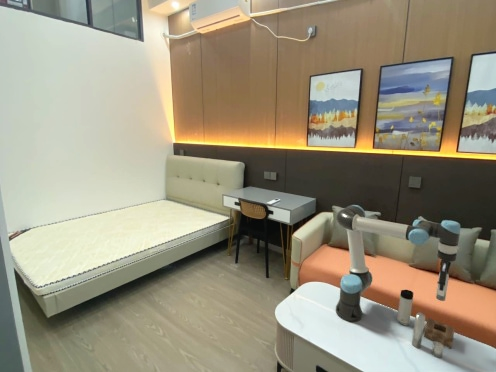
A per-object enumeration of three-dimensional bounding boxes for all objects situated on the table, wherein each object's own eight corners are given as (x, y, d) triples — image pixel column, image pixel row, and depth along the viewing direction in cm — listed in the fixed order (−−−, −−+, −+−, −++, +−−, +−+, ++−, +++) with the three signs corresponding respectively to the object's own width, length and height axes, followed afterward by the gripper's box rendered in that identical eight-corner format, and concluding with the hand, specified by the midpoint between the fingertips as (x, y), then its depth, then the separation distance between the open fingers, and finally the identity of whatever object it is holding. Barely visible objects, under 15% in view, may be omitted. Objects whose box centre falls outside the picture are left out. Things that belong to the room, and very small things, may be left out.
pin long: (411, 345, 138) (415, 315, 134) (412, 340, 141) (417, 311, 137) (419, 349, 135) (424, 319, 132) (421, 344, 138) (426, 314, 134)
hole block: (423, 337, 143) (425, 327, 142) (426, 326, 151) (428, 317, 149) (451, 348, 136) (453, 339, 134) (452, 337, 143) (454, 328, 142)
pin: (435, 298, 137) (438, 274, 135) (436, 295, 140) (440, 271, 138) (444, 301, 135) (448, 277, 132) (445, 298, 138) (449, 273, 135)
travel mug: (403, 326, 151) (408, 295, 147) (394, 318, 157) (398, 288, 153) (412, 324, 153) (416, 293, 148) (403, 316, 159) (407, 287, 155)
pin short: (431, 354, 132) (433, 344, 131) (432, 350, 135) (434, 340, 134) (441, 359, 129) (443, 349, 128) (442, 354, 132) (444, 344, 131)
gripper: (454, 259, 124) (448, 303, 128) (458, 247, 136) (452, 288, 141) (435, 254, 129) (429, 297, 133) (440, 243, 141) (435, 283, 146)
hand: (441, 293), depth 137 cm, fingers closed on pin, 4 cm apart
